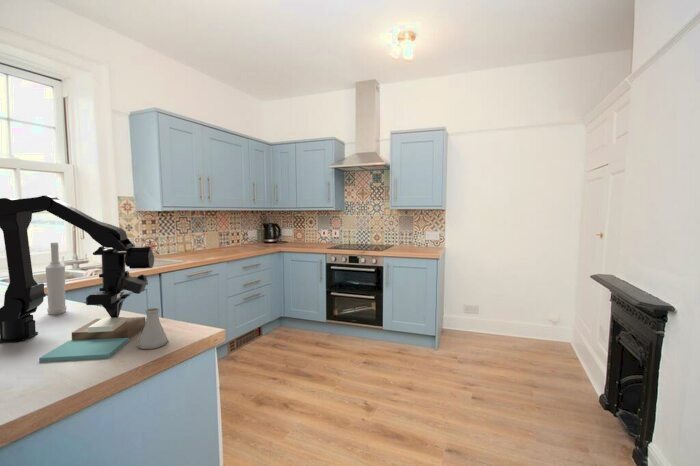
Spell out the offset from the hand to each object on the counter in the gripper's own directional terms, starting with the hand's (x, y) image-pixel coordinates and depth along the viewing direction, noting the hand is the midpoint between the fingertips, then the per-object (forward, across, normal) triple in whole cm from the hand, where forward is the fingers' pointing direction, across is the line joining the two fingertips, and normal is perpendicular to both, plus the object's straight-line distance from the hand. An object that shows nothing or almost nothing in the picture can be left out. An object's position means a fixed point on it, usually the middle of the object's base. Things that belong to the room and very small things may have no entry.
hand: (115, 319), depth 101 cm
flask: (+4, -13, -15) cm, 20 cm away
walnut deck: (+4, -2, 0) cm, 4 cm away
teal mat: (+4, -14, 0) cm, 15 cm away
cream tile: (0, -5, 0) cm, 5 cm away
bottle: (+4, +23, +29) cm, 37 cm away
